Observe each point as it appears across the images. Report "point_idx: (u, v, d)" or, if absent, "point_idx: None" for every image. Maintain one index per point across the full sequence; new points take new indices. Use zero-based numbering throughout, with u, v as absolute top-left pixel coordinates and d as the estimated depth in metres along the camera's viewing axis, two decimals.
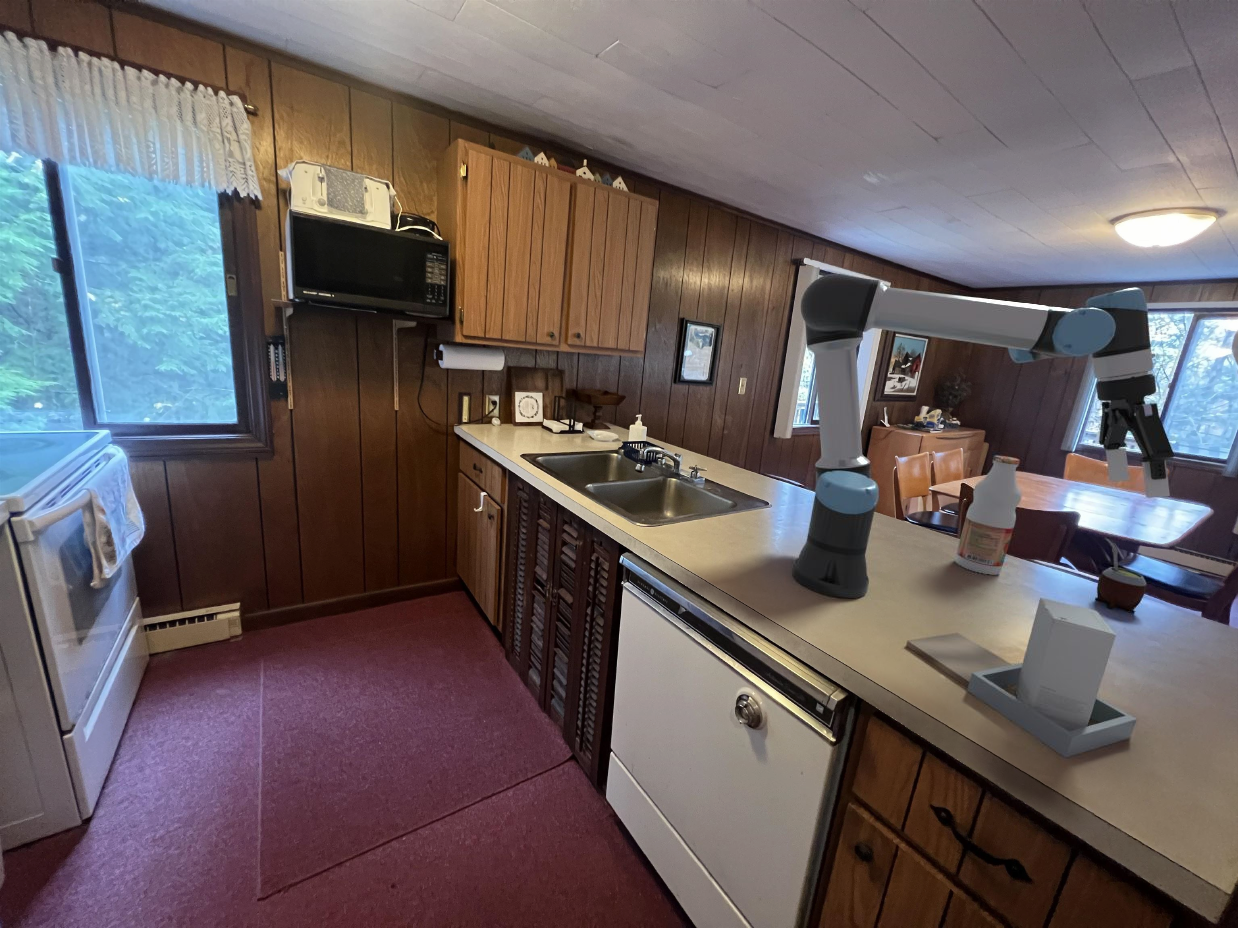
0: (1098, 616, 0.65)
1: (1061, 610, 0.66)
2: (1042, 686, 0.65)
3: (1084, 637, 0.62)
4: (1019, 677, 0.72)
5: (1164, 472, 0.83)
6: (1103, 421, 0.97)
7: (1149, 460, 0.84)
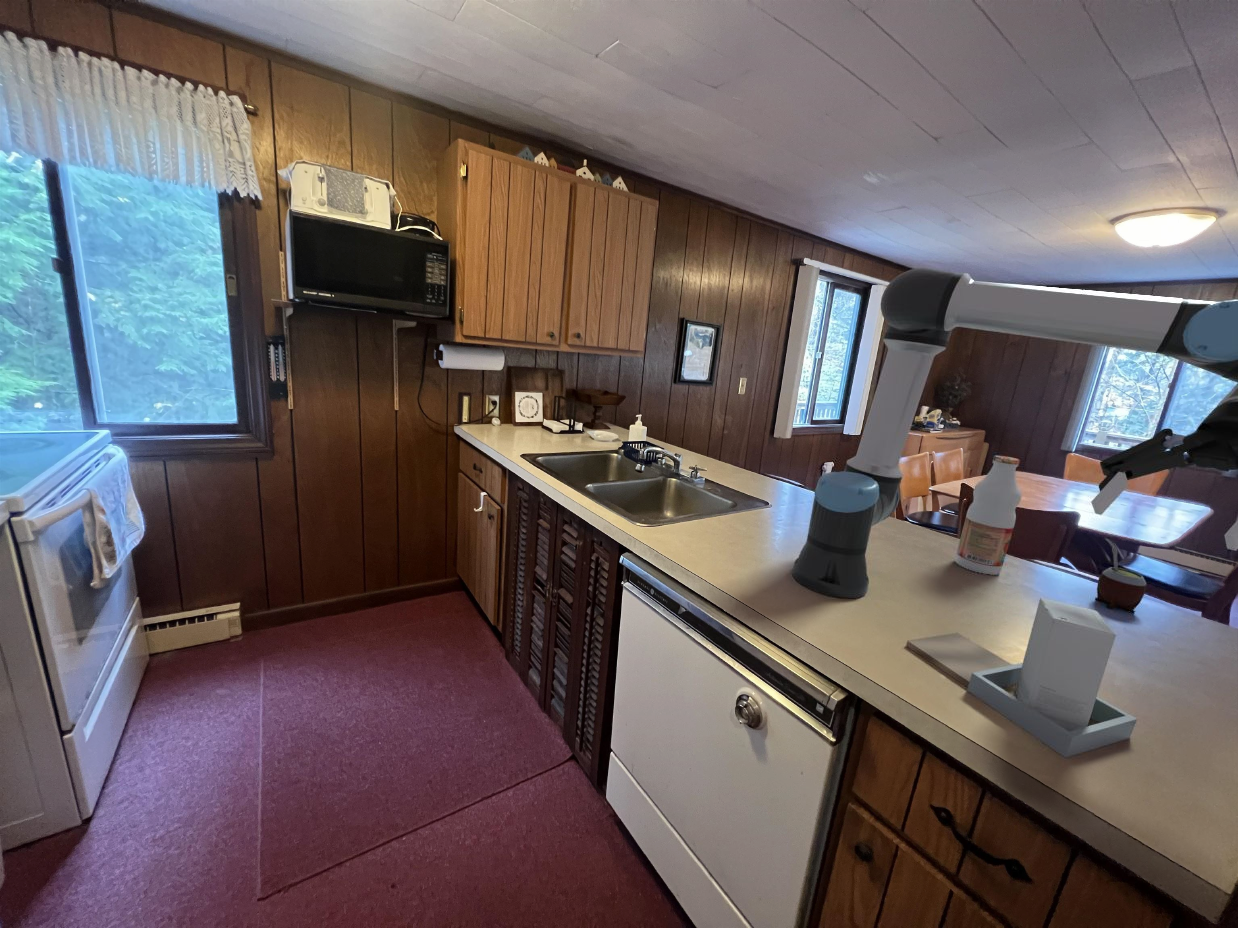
0: (1098, 616, 0.65)
1: (1061, 610, 0.66)
2: (1042, 686, 0.65)
3: (1084, 637, 0.62)
4: (1019, 677, 0.72)
5: None
6: (1146, 446, 0.73)
7: None
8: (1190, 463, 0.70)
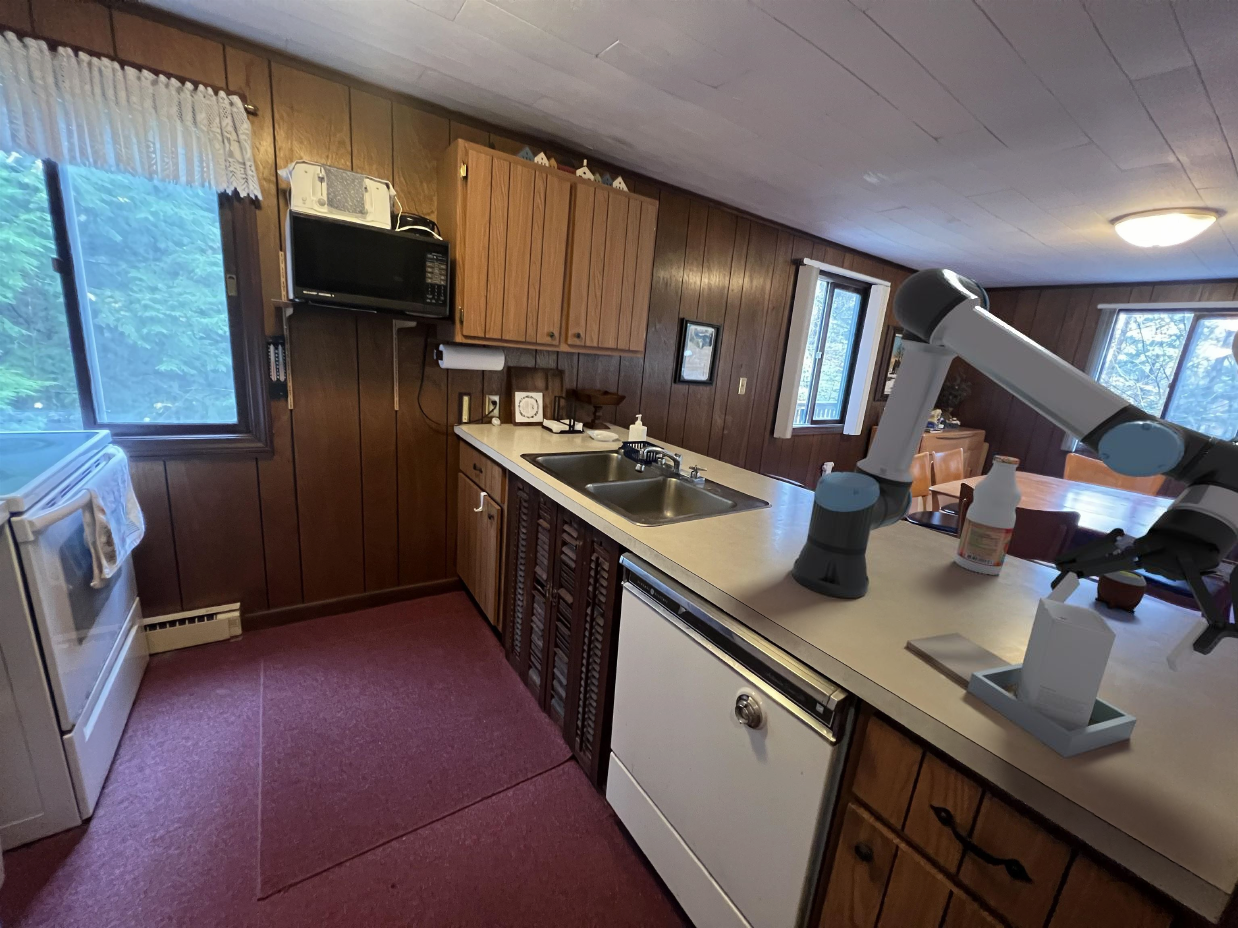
0: (1098, 616, 0.65)
1: (1061, 610, 0.66)
2: (1042, 686, 0.65)
3: (1084, 637, 0.62)
4: (1019, 677, 0.72)
5: (1213, 648, 0.59)
6: (1098, 545, 0.73)
7: (1221, 626, 0.59)
8: (1140, 567, 0.70)
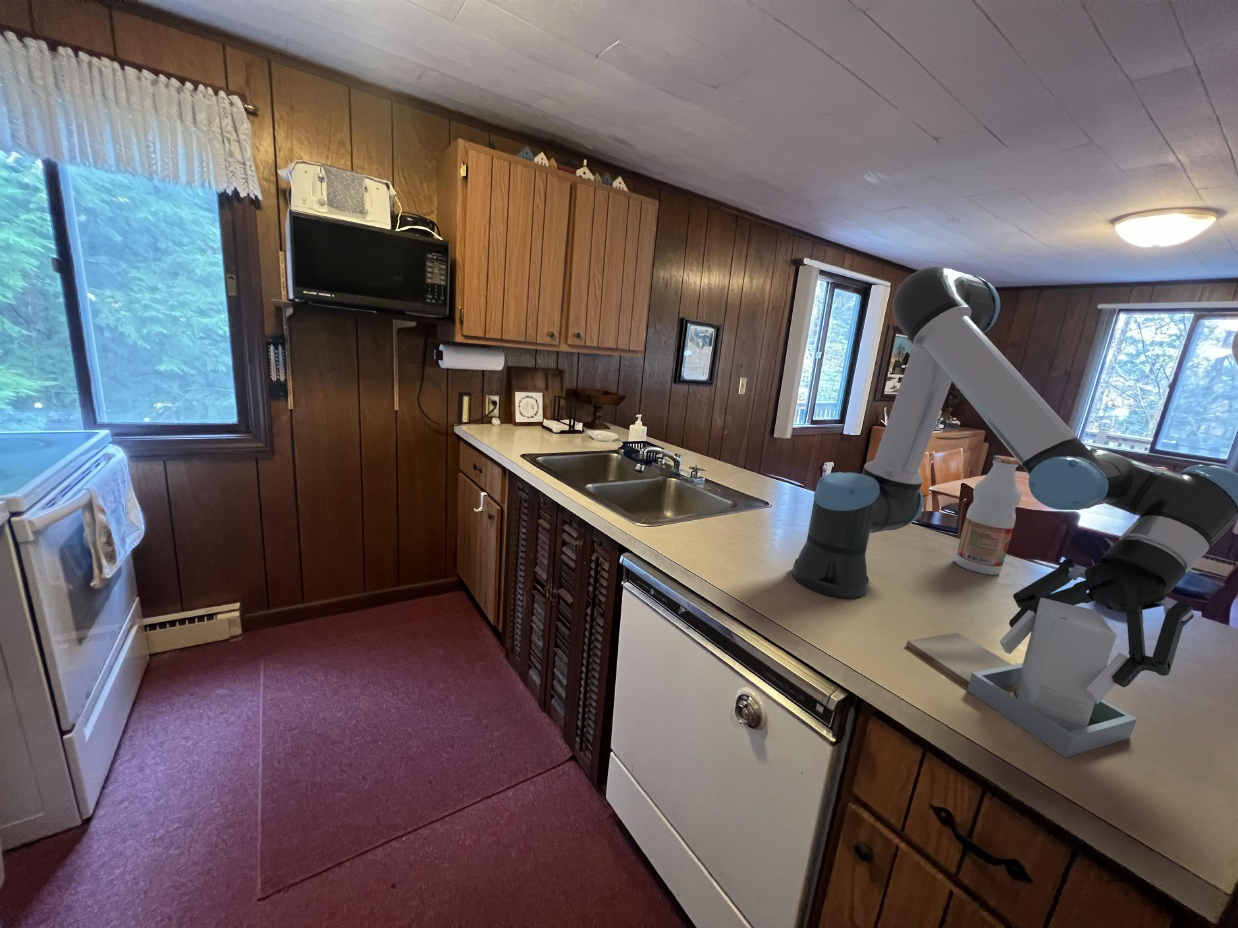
0: (1098, 616, 0.65)
1: (1061, 610, 0.66)
2: (1042, 686, 0.65)
3: (1084, 637, 0.62)
4: (1019, 677, 0.72)
5: (1131, 681, 0.60)
6: (1053, 578, 0.72)
7: (1138, 660, 0.60)
8: (1093, 599, 0.69)
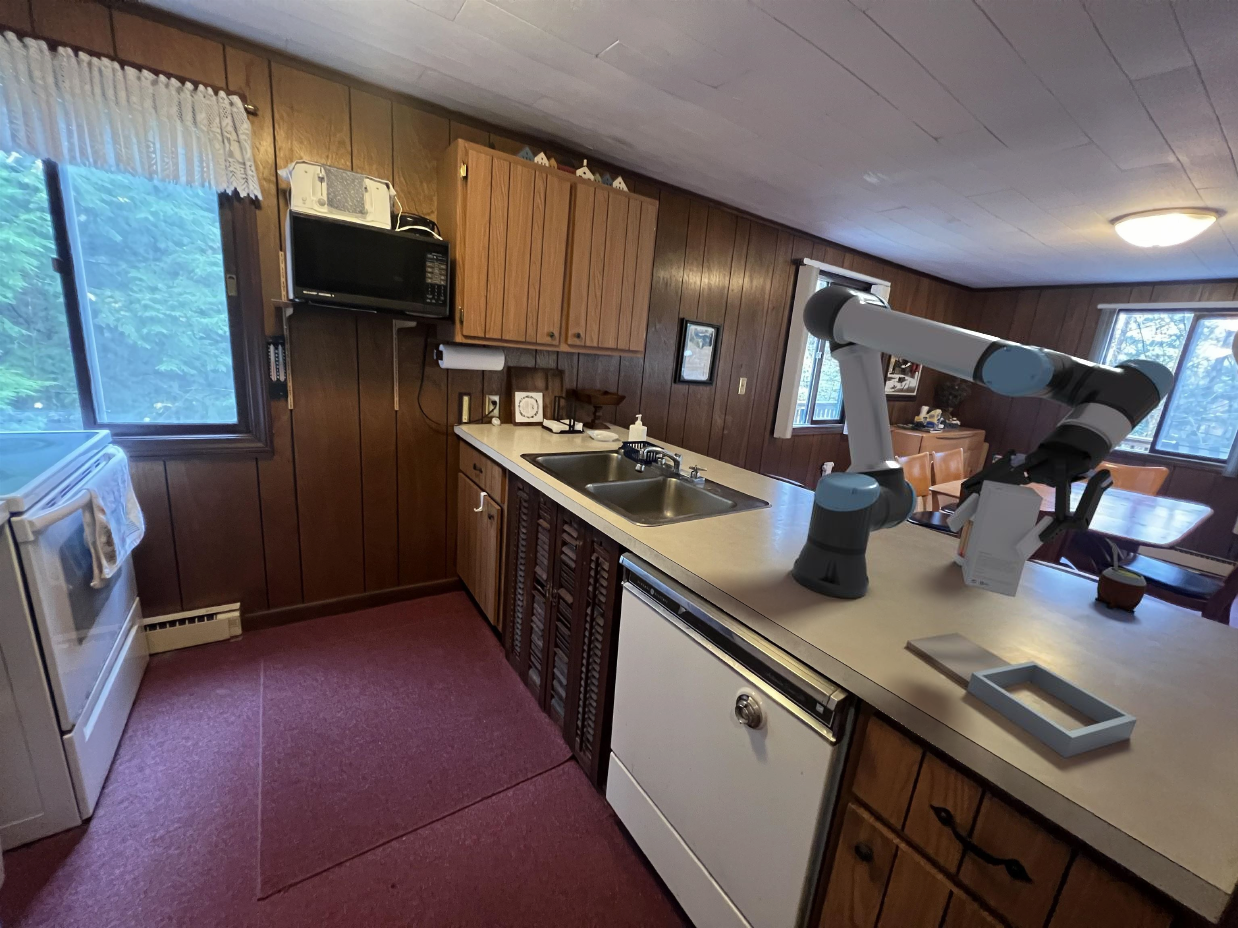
0: (1032, 490, 0.73)
1: (999, 485, 0.74)
2: (980, 551, 0.73)
3: (1016, 503, 0.70)
4: (965, 555, 0.80)
5: (1055, 538, 0.68)
6: (996, 466, 0.80)
7: (1061, 519, 0.68)
8: (1031, 481, 0.77)
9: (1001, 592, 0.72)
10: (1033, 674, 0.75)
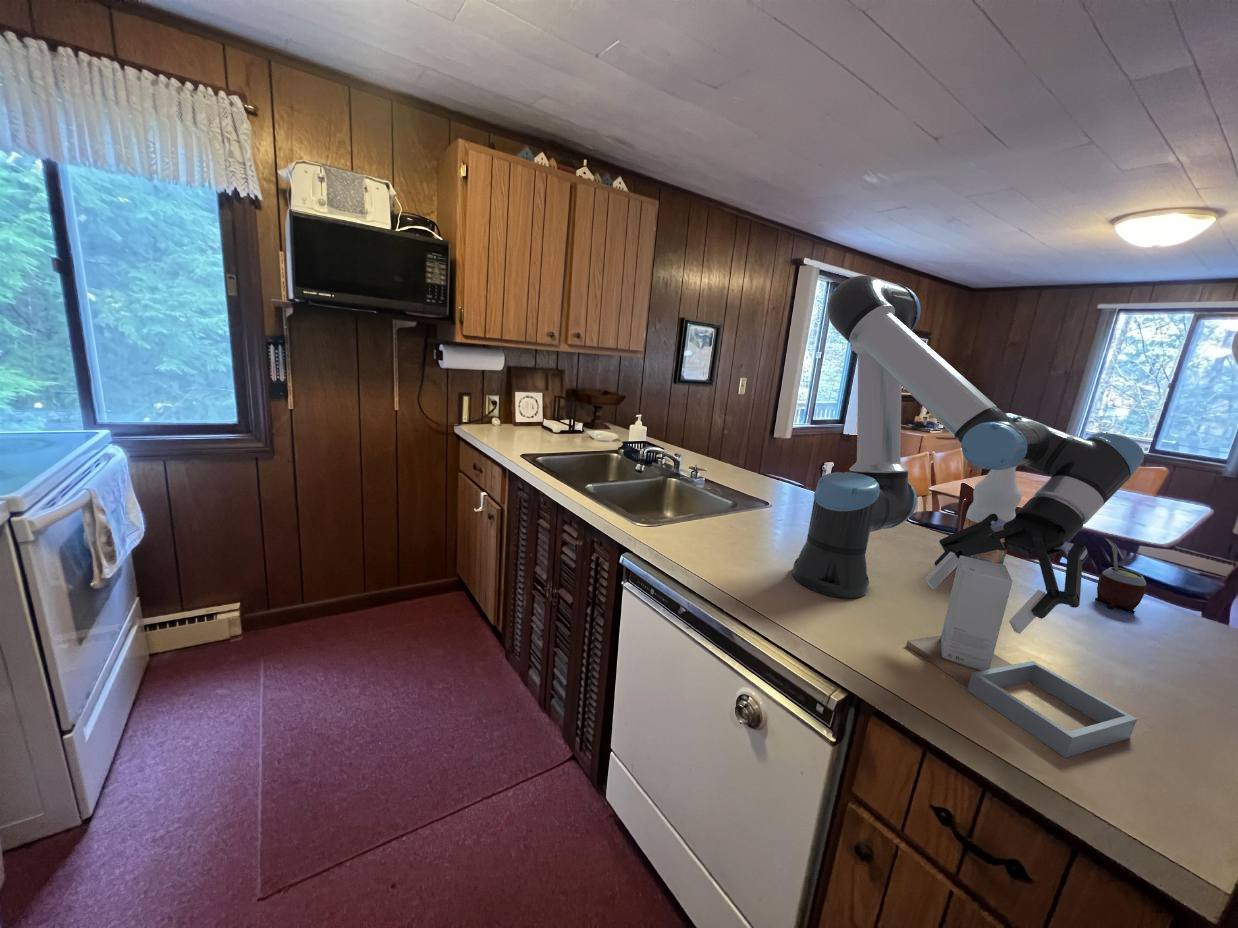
0: (1004, 568, 0.77)
1: (973, 563, 0.77)
2: (955, 628, 0.76)
3: (987, 584, 0.73)
4: None
5: (1047, 613, 0.69)
6: (975, 529, 0.83)
7: (1054, 594, 0.69)
8: (1007, 547, 0.80)
9: (976, 667, 0.76)
10: (1033, 674, 0.75)
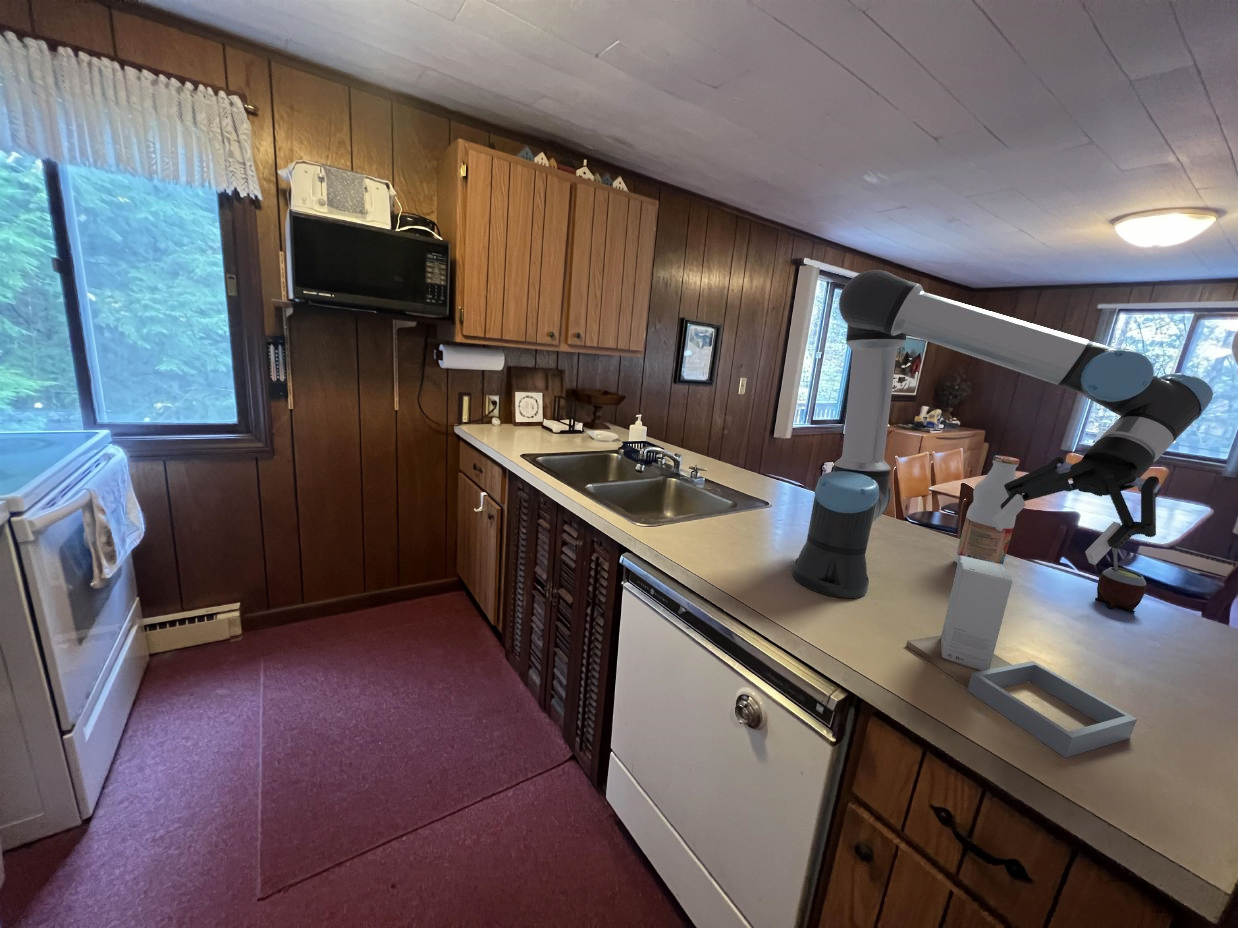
0: (1004, 568, 0.77)
1: (973, 563, 0.77)
2: (955, 628, 0.76)
3: (987, 584, 0.73)
4: None
5: (1123, 543, 0.72)
6: (1041, 472, 0.85)
7: (1130, 525, 0.71)
8: (1075, 488, 0.82)
9: (976, 667, 0.76)
10: (1033, 674, 0.75)
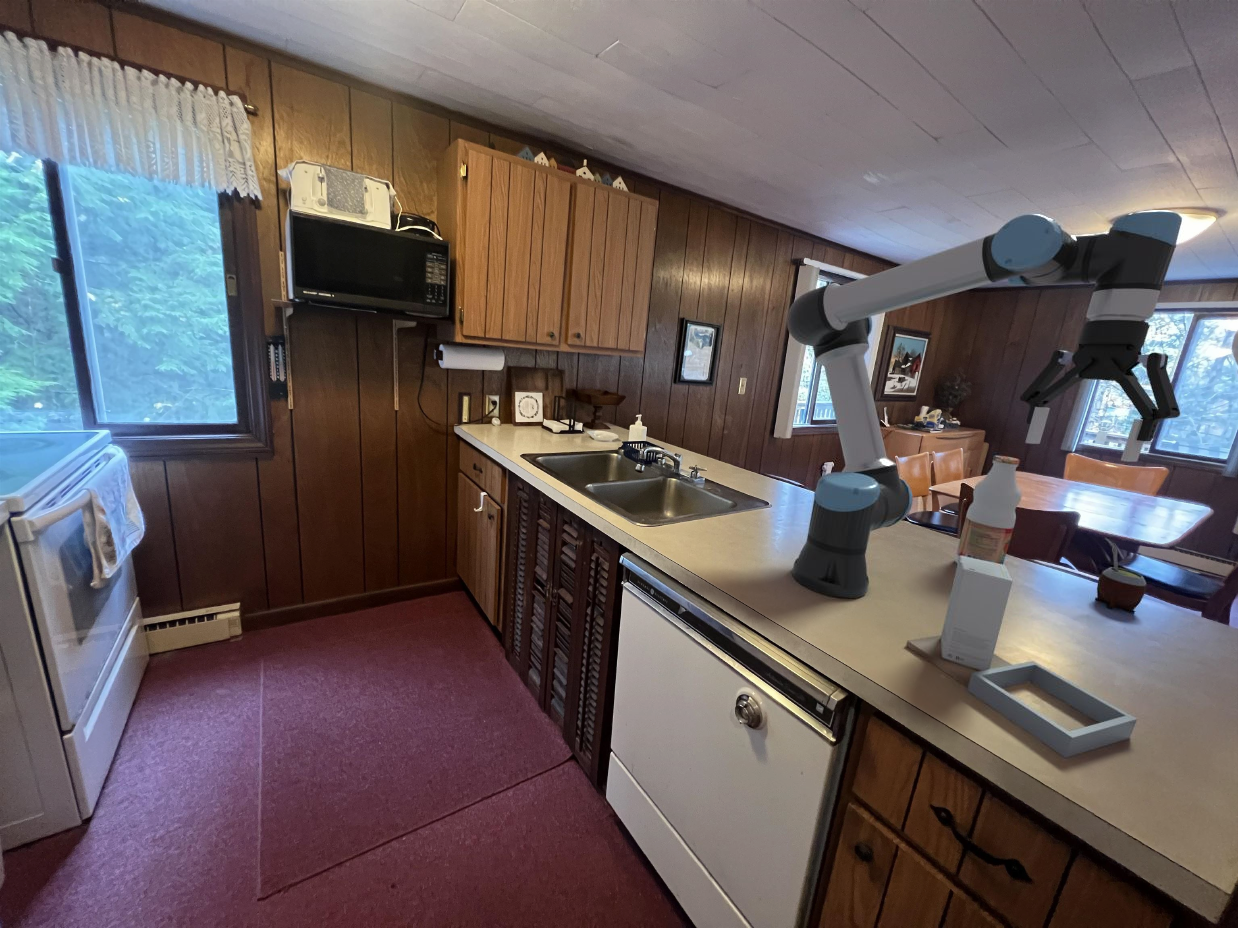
0: (1004, 568, 0.77)
1: (973, 563, 0.77)
2: (955, 628, 0.76)
3: (987, 584, 0.73)
4: None
5: (1153, 434, 0.73)
6: (1047, 374, 0.85)
7: (1151, 418, 0.72)
8: None
9: (976, 667, 0.76)
10: (1033, 674, 0.75)
